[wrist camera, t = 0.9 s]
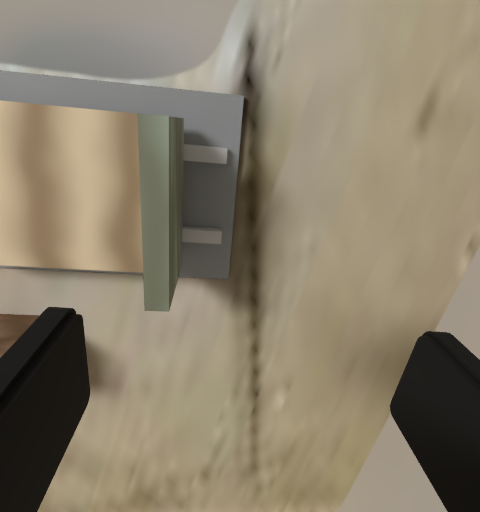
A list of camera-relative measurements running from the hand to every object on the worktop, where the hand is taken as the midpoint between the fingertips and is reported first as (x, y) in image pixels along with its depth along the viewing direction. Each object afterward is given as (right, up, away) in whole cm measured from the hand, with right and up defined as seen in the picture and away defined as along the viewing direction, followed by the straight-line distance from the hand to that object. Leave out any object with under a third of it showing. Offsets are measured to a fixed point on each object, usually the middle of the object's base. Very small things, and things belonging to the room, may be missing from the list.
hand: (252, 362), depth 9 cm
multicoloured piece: (-15, +9, +18) cm, 25 cm away
